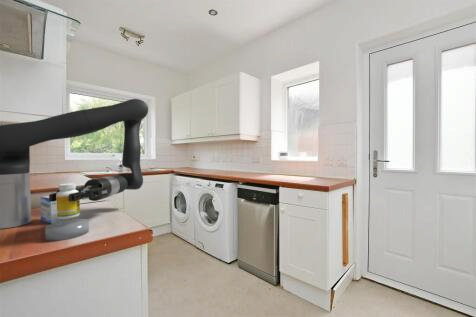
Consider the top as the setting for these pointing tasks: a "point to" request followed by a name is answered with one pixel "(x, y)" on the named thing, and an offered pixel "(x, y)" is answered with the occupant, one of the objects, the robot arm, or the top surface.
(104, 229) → the top surface
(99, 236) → the top surface
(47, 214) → the medicine box
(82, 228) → the plinth
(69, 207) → the supplement bottle
